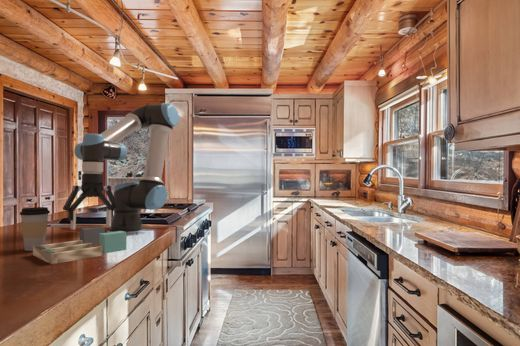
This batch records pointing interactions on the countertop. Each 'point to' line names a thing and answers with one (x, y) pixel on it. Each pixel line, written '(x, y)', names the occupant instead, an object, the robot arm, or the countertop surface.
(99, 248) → the slot rack
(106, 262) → the countertop surface
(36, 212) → the coffee cup
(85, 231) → the gray rectangular block
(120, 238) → the teal stub
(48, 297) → the countertop surface
